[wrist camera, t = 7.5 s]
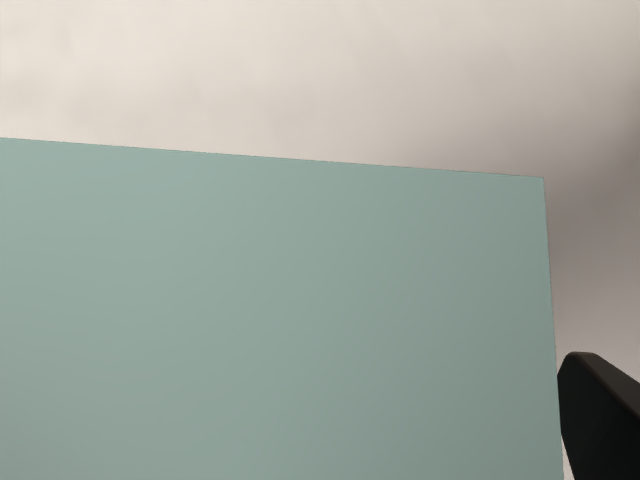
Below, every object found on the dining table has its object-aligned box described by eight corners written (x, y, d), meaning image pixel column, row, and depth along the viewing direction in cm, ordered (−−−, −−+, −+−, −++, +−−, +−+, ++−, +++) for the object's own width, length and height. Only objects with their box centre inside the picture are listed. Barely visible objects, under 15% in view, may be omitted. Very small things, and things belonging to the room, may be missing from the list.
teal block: (354, 504, 16) (591, 883, 4) (184, 496, 16) (-201, 868, 3) (360, 334, 17) (543, 176, 5) (204, 325, 17) (-15, 136, 5)
